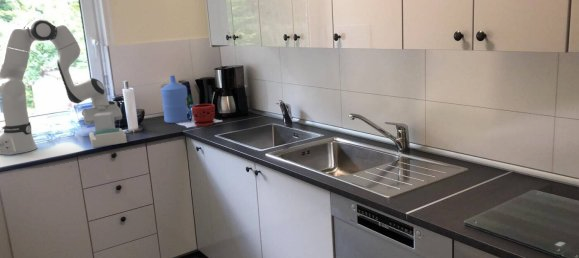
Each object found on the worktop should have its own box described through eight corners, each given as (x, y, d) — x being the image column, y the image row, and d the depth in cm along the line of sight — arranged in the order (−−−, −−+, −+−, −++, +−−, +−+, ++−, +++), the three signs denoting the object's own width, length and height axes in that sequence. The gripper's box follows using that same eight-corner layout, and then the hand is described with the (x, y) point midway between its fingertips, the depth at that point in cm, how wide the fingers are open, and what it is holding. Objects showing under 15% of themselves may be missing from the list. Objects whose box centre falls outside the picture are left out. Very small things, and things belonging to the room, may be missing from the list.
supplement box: (117, 137, 291) (113, 111, 288) (114, 141, 282) (110, 114, 279) (100, 139, 290) (96, 112, 287) (97, 143, 281) (92, 115, 278)
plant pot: (217, 126, 305) (215, 105, 302) (194, 128, 302) (192, 108, 299) (215, 121, 317) (213, 102, 314) (193, 124, 314) (190, 104, 311)
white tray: (90, 139, 290) (88, 129, 289) (121, 135, 297) (120, 124, 296) (93, 147, 273) (91, 136, 271) (126, 142, 279) (125, 131, 278)
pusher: (97, 143, 279) (95, 131, 278) (120, 140, 284) (118, 127, 282) (97, 145, 276) (95, 132, 274) (121, 141, 280) (119, 129, 279)
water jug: (172, 124, 317) (167, 78, 310) (159, 121, 328) (154, 76, 322) (195, 119, 327) (190, 74, 320) (181, 117, 338) (176, 73, 332)
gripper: (80, 106, 290) (84, 127, 283) (119, 101, 298) (124, 121, 291) (81, 112, 295) (85, 133, 288) (119, 107, 303) (124, 127, 296)
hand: (105, 127), depth 290 cm, fingers closed
